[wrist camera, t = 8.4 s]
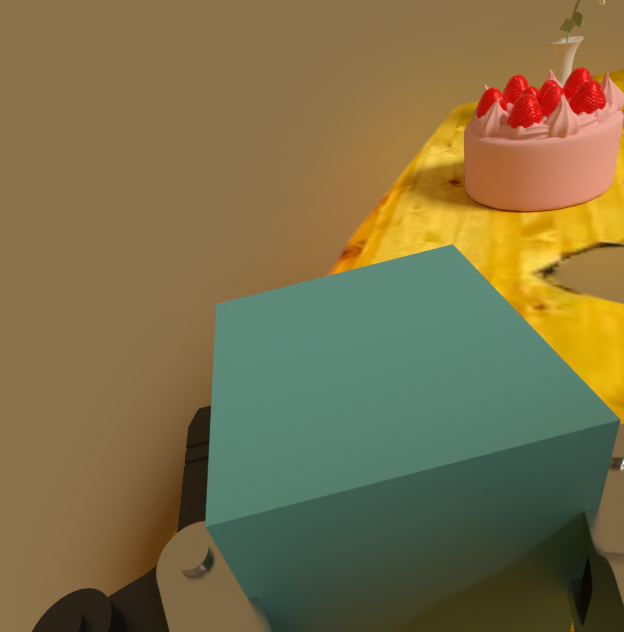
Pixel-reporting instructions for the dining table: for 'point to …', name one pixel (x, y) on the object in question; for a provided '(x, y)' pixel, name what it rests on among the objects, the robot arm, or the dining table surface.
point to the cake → (543, 143)
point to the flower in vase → (568, 45)
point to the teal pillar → (400, 454)
